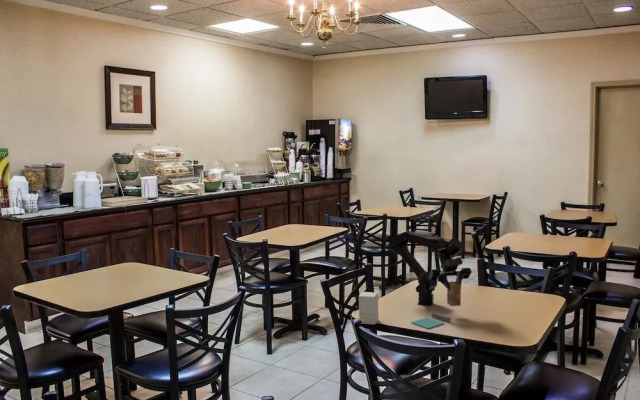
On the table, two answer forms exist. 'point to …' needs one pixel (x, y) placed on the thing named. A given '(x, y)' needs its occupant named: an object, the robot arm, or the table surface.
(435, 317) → the low wall
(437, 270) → the robot arm
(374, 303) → the supplement box
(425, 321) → the mat
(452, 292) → the walnut pillar
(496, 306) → the table surface
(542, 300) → the table surface
